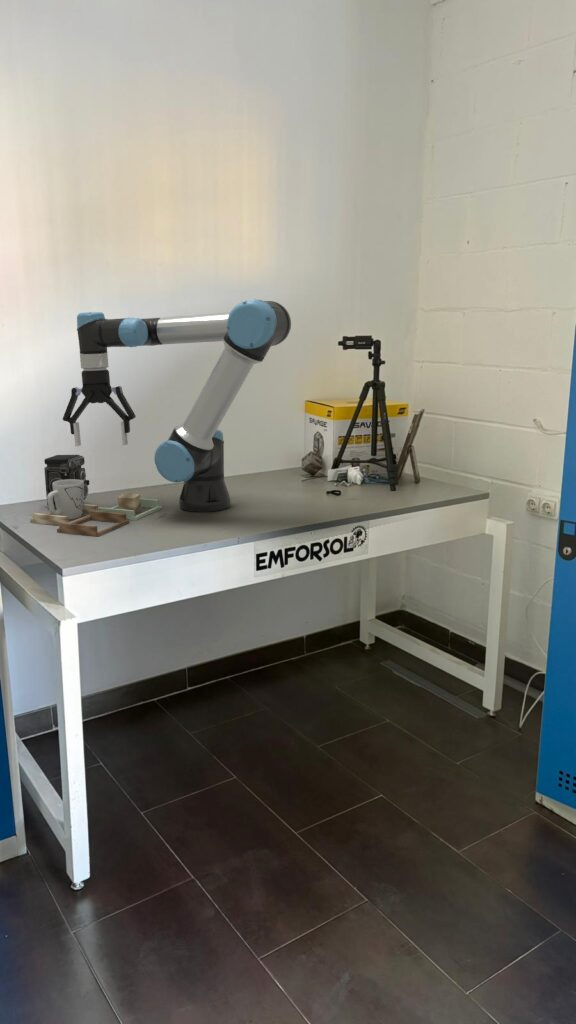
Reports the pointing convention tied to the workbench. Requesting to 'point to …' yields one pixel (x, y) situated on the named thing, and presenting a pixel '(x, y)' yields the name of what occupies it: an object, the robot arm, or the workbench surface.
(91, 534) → the walnut rim
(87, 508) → the birch rim
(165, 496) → the workbench surface
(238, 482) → the workbench surface
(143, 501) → the sage rim
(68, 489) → the mug
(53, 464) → the camera
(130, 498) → the birch cube
